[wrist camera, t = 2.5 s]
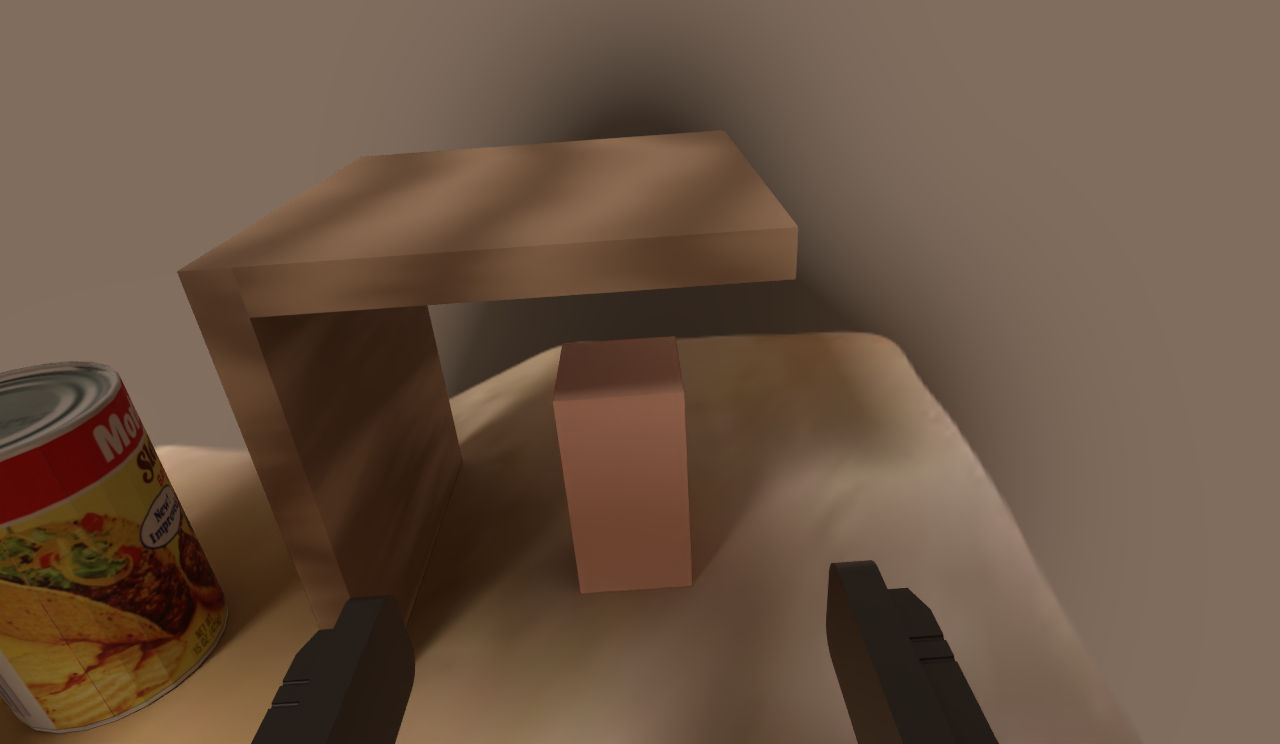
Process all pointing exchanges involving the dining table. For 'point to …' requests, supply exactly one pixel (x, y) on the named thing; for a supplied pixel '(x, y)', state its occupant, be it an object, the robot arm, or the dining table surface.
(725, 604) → the dining table surface
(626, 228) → the shelf nook
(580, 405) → the terracotta block
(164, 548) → the canned food
